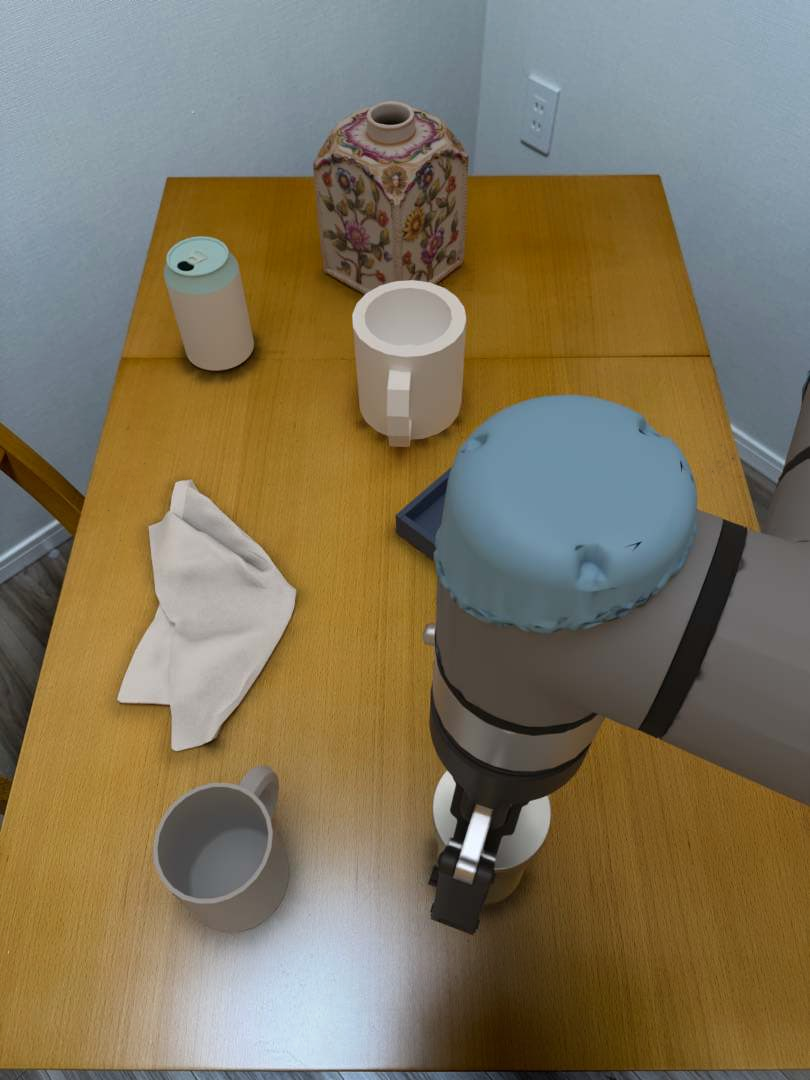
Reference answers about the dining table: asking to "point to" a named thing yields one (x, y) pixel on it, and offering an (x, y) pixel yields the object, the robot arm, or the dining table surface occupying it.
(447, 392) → the mug
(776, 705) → the robot arm
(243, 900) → the cup
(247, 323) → the can
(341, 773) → the dining table surface
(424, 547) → the tray
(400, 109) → the decorative jar
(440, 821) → the lid
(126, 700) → the cloth
